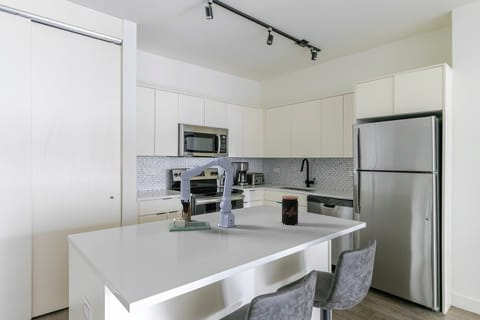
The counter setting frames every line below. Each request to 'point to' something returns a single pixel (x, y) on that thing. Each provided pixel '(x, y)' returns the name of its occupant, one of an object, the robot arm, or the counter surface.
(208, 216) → the counter surface
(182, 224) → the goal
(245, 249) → the counter surface
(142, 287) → the counter surface
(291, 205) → the coffee jar
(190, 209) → the condiment
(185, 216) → the grey and tan mallet
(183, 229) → the pitch
